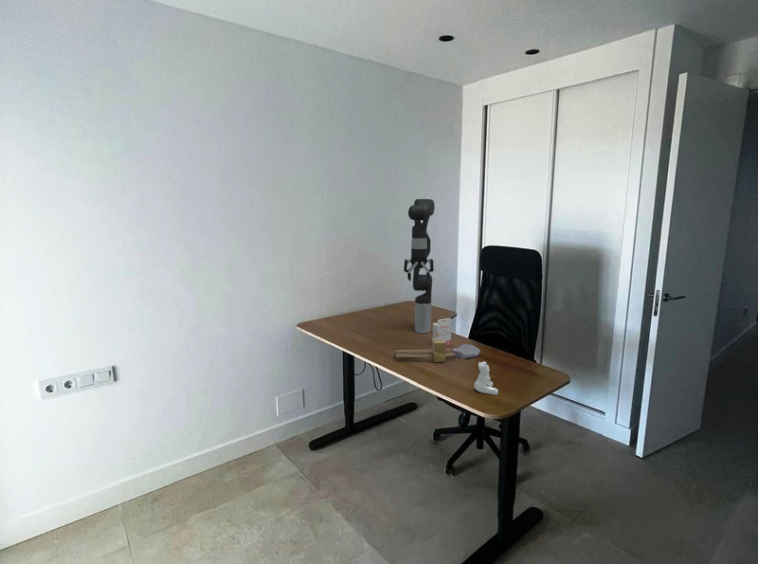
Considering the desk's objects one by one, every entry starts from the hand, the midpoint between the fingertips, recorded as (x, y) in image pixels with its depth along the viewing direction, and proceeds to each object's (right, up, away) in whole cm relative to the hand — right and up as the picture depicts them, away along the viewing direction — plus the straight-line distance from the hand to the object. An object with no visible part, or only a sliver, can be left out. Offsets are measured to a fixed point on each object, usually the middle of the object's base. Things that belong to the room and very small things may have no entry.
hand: (418, 280), depth 207 cm
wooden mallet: (+9, -37, -2) cm, 38 cm away
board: (+3, -37, -3) cm, 38 cm away
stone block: (+24, -37, +1) cm, 44 cm away
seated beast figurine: (+23, -44, -38) cm, 63 cm away
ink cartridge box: (+13, -34, +16) cm, 40 cm away
